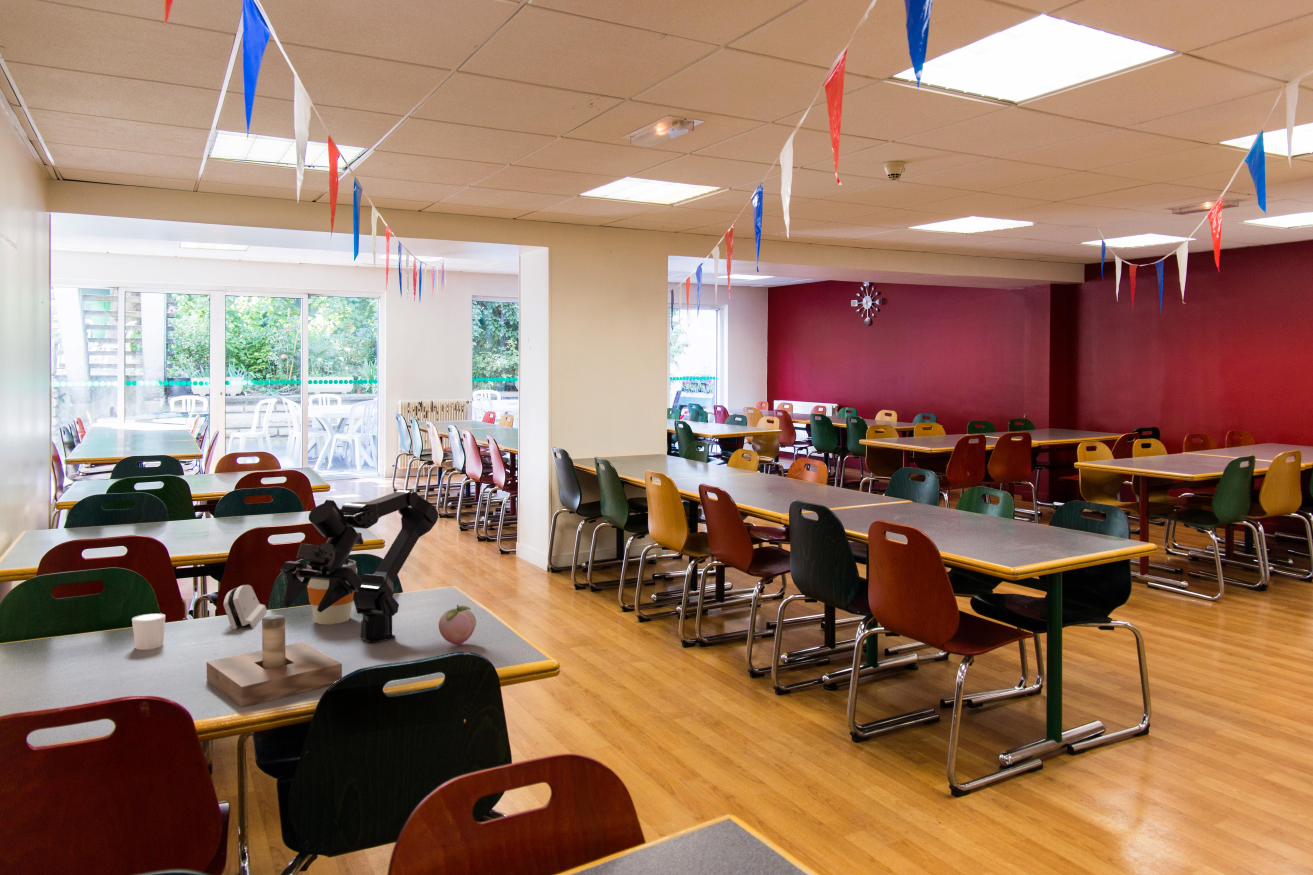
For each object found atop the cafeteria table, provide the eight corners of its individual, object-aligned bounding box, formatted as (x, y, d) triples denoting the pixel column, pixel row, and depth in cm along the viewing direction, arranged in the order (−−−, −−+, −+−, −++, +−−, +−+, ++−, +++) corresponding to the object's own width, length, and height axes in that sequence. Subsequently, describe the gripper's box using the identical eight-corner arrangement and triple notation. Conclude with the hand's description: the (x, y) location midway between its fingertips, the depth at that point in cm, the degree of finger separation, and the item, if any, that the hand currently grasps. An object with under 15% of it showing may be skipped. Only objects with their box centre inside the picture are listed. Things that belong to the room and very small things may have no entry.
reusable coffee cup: (322, 611, 232) (321, 557, 231) (365, 614, 231) (365, 559, 230) (296, 624, 220) (296, 567, 219) (342, 627, 218) (342, 569, 217)
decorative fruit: (449, 638, 210) (449, 598, 210) (480, 641, 209) (480, 600, 208) (431, 650, 201) (431, 608, 200) (464, 652, 199) (464, 610, 199)
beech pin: (269, 675, 181) (268, 614, 180) (289, 675, 181) (288, 615, 180) (258, 682, 177) (257, 620, 176) (279, 683, 177) (278, 621, 176)
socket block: (302, 659, 193) (302, 642, 193) (342, 682, 179) (341, 663, 179) (206, 680, 179) (206, 661, 179) (242, 706, 165) (241, 686, 165)
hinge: (253, 628, 216) (238, 592, 215) (234, 635, 215) (219, 599, 214) (267, 610, 232) (253, 577, 231) (250, 617, 232) (236, 583, 230)
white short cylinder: (170, 645, 201) (169, 616, 201) (137, 652, 196) (136, 622, 196) (160, 639, 206) (160, 611, 205) (128, 645, 201) (127, 616, 200)
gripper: (285, 525, 193) (247, 584, 183) (352, 532, 186) (316, 593, 177) (311, 553, 201) (276, 611, 191) (376, 560, 194) (343, 621, 184)
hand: (301, 608), depth 186 cm, fingers open, 9 cm apart
